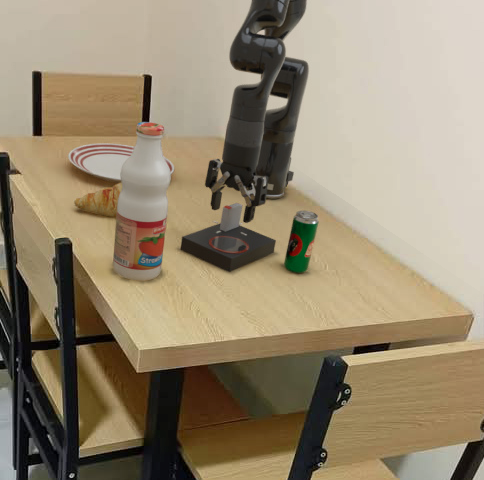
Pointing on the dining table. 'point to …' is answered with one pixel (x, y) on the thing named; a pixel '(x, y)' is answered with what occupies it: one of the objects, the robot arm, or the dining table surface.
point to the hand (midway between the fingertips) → (230, 215)
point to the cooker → (201, 249)
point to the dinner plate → (104, 160)
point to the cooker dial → (231, 217)
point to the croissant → (101, 201)
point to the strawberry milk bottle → (142, 207)
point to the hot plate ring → (228, 244)
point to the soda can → (301, 241)
